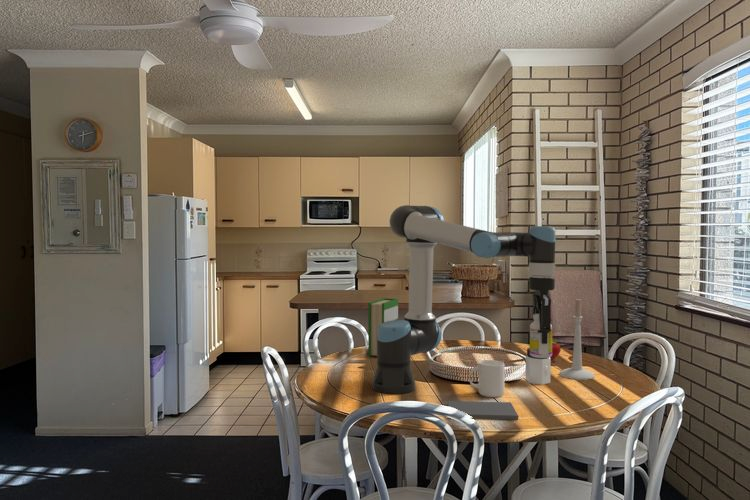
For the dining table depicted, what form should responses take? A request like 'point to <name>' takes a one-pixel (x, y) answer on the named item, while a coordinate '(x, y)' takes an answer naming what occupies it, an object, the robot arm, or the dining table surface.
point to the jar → (537, 369)
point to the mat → (486, 409)
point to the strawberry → (555, 350)
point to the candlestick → (577, 351)
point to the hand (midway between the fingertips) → (540, 351)
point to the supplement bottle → (535, 339)
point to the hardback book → (379, 319)
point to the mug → (490, 378)
